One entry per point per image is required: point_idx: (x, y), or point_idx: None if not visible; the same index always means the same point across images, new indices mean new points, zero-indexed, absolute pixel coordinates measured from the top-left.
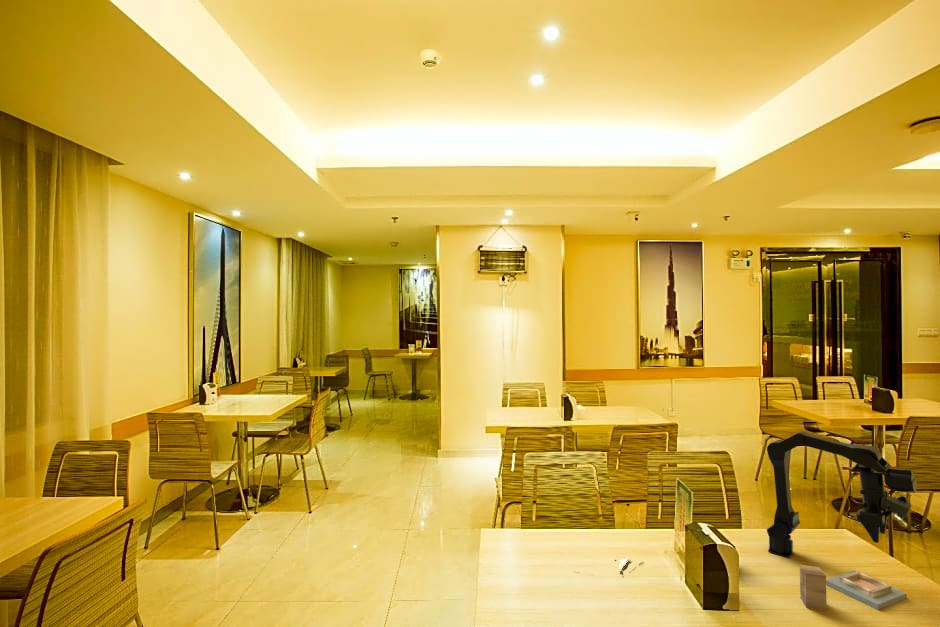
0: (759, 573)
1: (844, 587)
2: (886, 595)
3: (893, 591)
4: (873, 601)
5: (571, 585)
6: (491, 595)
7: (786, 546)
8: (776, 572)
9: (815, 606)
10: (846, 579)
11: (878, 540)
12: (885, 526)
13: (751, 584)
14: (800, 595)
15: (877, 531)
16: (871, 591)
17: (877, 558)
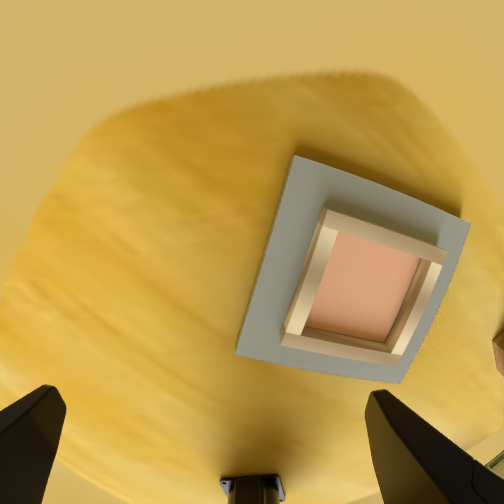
0: None
1: (420, 332)
2: (383, 213)
3: (321, 199)
4: (459, 237)
5: None
6: None
7: (266, 501)
8: None
9: None
10: (398, 346)
11: (402, 403)
12: (8, 427)
13: (479, 437)
14: (501, 372)
15: (490, 481)
16: (440, 257)
17: (27, 309)
